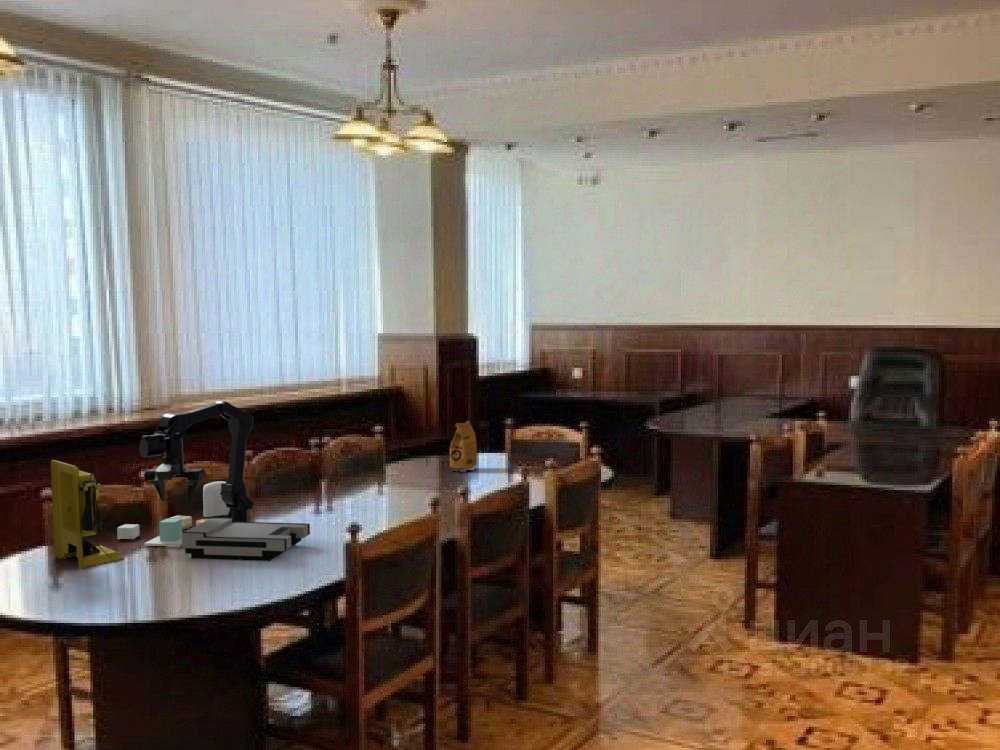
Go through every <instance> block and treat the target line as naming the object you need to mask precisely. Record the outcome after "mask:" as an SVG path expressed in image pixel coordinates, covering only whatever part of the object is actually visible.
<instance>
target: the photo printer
mask: <svg viewBox="0 0 1000 750" xmlns="http://www.w3.org/2000/svg"><path fill="white" fill-rule="evenodd" d="M222 483H224V484H225V483H226V481H222V480H221V481H219V480H218V481H212V482H209V483H206V484H204V485H203V488H202V501H203V502H202V503H203V505H202V507H203V518H206V517H207V518H213V517H214V516H215V517H221V516H222V515H223V516H228V513H229V509H230V508H227V506H226V504H225V503H224V501H223V500H222V497H221V495H220V493H221V484H222Z"/></svg>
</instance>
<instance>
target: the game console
mask: <svg viewBox="0 0 1000 750" xmlns="http://www.w3.org/2000/svg"><path fill="white" fill-rule="evenodd" d="M208 519H209V520H207V521H205V522H203V523H201V524H199V525H197V526H196V525H195V526H192V528H190V529H187V530H184V531H182V549H184V554H185V555H188V554H189V555H190V557H191V558H190V559H192V560H221V561H251V562H252V561H255V562H271V561H272V560H274V559H276V558H278V557H279V556H281V555H282V554H284V553H285V552H287V550H289V549H290V548H292V547H293V546H296V545H297V544H298V543H300V542H301V541H302V539H305V538H306V537H308V536H310V534H311V524H310V523H302V522H301V523H298V522H295V523H293V522H268V521H267V522H265V521H264V522H258V521H252V522H251V521H250V522H234V518H228V517H221V516H215V517H210V518H208ZM292 545H293V546H292ZM291 546H292V547H291Z"/></svg>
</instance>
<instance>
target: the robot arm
mask: <svg viewBox="0 0 1000 750" xmlns="http://www.w3.org/2000/svg"><path fill="white" fill-rule="evenodd" d="M216 416H221V417H222V418H223V419H225V420H226V421H227V422H228V424H227V425H228V430H229V433H230V435H231V444H230V454H229V464H228V465H229V467H228V478H227V480H226V481H225V482H226V483H225V484H224V483H222V484H221V493H220V495H221V497H222V500H223V501H224V503H225V504H226V506H227V508H230V509H229V513H228V515H227V518H234V522H251V510H253V508H254V501H252V500H251V499H250V498H249V497H248V495H247V486H246V484H245V482H244V471H245V470H244V469H245V463H246V462H245V459H246V450H247V449H246V448H247V438H248V436H249V434H250V433H251V430H252V428H253V424H254V415H252V413H251V412H249V411H247V410H242V409H241V408H239V407H236V406H234V405H233V404H231V403H229V402H228V401H226V400H217V401H215V402H213V403H209V404H207V405H204V406H201V407H197V408H194V409H191V410H188V411H184V412H183V411H182V412H171V413H165V414H163V415H162V416H161V418H160V420H159V424H158V426H157V427H156V429H155V431H154V432H153V433H152V434H151V435H150V434H149V435H142V436H141V440H140V442H139V446H138V449H139V450H138V451H139V453H140V455H141V457H142V458H143V459H144V458H151V457H157V456H158V457H159V456H162V455H164V456H163V457H162V459H161V460H162V461H161V464H160V465H158V467H157V468H151V469H148V470H145V471H144V473H143V480H144V481H147V483H149V484H152V485H153V486H154V487H155V489H156V491H157V493H158V496H159V499H160V500H161V502H164V501H165V499H166V486H165V484H166V481H170V480H172V479H173V478H186V479H187V480H186V485H187V499H188V502H191V501H192V500H193V497H194V494H195V492H196V488H197V486H198V484H199V482H201V481H202V480H203V479H205V478H206V477H207V471H206V469H204V468H193V469H190V470H188V471H187V467H186V466H185V463H184V462H185V460H184V459H185V458H186V454H184V445H183V444H184V443H183V442H184V441H183V439H188V438H189V437H190V436H189V434H187V433H186V432H185V430H186V429H188V428H190V427H191V425H193V424H195V423H199V422H201V421H204V420H208V419H210V418H214V417H216Z"/></svg>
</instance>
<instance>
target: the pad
mask: <svg viewBox="0 0 1000 750" xmlns="http://www.w3.org/2000/svg"><path fill="white" fill-rule="evenodd" d="M143 546H144V547H148V546H167V547H166V548H181V546H182V538H180V539H178V540H176V541H160V535H158V536H155V537H154V538H152V539H150V540H148V541H146V542H144V543H143Z"/></svg>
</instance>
